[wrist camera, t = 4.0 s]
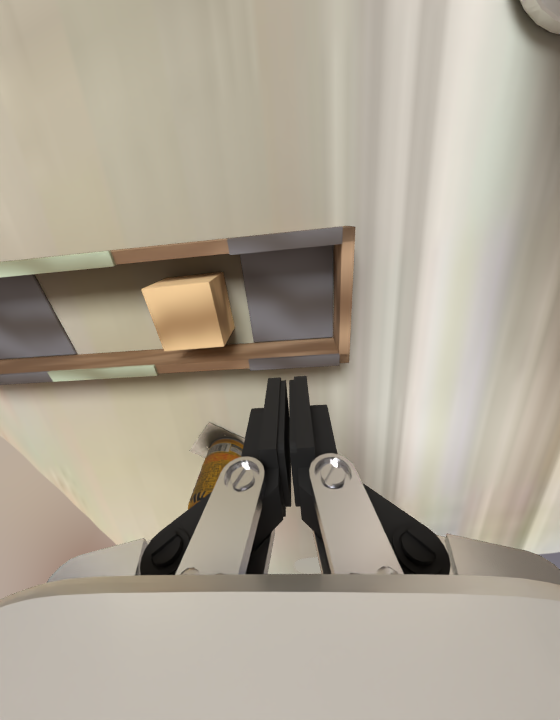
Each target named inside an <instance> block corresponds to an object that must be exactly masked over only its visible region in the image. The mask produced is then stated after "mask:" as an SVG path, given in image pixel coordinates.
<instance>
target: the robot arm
mask: <svg viewBox="0 0 560 720" xmlns="http://www.w3.org/2000/svg"><path fill="white" fill-rule="evenodd" d="M520 2H521V4H522V6H523V8H524V10H525V11H526V13H527V14H528V15H529V16H530V17H531V18H532V19H533V21H534V22H535V23H536V24H537V25H539V26H541V27H543V28H544V29H546V30H548V31H549V32H551V33H556V34H560V0H520ZM291 467H292V477H293V486H294V496H295V505H296V506H301V516H302V520H303V521H304V522H305V523H306V524H307V525H308V526H309V527H310V528H311V529H312V530H313V537H314V541H315V546H316V551H317V555H318V560H319V564H320V569H321V574H268V569H269V563H270V558H271V552H272V547H273V541H274V536H275V528H276V527H277V526H278V525H279V523H280V522H281V521H282V520H283V517H286V507H291ZM0 720H560V569H559V568H557V567H556V566H555V565H554V564H553V563H551V562H550V561H548V560H546V559H545V558H543V557H542V556H540V555H537V554H534V553H531V552H529V551H525V550H520V549H515V548H511V547H506V546H501V545H497V544H492V543H488V542H483V541H478V540H474V539H469V538H464V537H460V536H455V535H451V534H447V535H446V537H443V536H438V535H436V534H434V533H433V532H432V531H431V530H430V529H428V528H427V527H426V526H424V525H423V524H421V523H420V522H418V521H417V520H416V519H414V518H413V517H411V516H410V515H408V514H407V513H405V512H404V511H402V510H401V509H400V508H398V507H397V506H395V505H394V504H392V503H391V502H389V501H388V500H386V499H385V498H384V497H382V496H381V495H379V494H378V493H376V492H375V491H373V490H372V489H370V488H369V487H367V486H366V485H365V484H363V483H362V481H361V479H360V477H359V475H358V473H357V470H356V468H355V467H354V465H353V464H352V462H351V461H349V460H348V459H347V458H346V457H343V456H341V455H339V454H337V450H336V445H335V441H334V436H333V431H332V426H331V422H330V417H329V412H328V408H327V405H312V406H310V402H309V394H308V385H307V377H306V376H297V377H294V380H290V381H289V408H288V398H287V387H286V380H285V381H281V378H268V384H267V391H266V398H265V405H264V408H254V409H251V413H250V417H249V422H248V427H247V432H246V436H245V441H244V446H243V451H242V455H241V457H240V458H236V459H234V460H232V461H231V462H229V463H228V464H227V465H226V466H225V467H224V468H223V470H222V471H221V473H220V475H219V478H218V480H217V482H216V484H215V487H214V489H213V491H212V492H211V493H209V494H208V495H207V496H205V497H204V498H203V499H202V500H200V501H199V502H198V503H196V504H195V505H194V506H193V507H191V508H190V509H189V510H187V511H186V512H185V513H183V514H182V515H181V516H180V517H178V518H177V519H176V520H174V521H173V522H172V523H171V524H169V525H168V526H167V527H165V528H164V529H163V530H161V531H160V532H159V533H158V534H157V535H156V536H155V537H154V538H153V539H152V540H149V541H146V540H145V539H144V538H143V539H139V540H135V541H131V542H128V543H124V544H120V545H116V546H113V547H109V548H105V549H101V550H98V551H94V552H90V553H87V554H82V555H79V556H77V557H75V558H72V559H70V560H69V561H67V562H66V563H65V564H63V565H62V566H60V567H59V568H58V569H57V570H56V571H55V572H54V573H53V574H52V576H51V577H50V578H49V579H48V581H47V583H44V584H41V585H38V586H34V587H31V588H28V589H25V590H22V591H19V592H17V593H14V594H12V595H9V596H7V597H5V598H3V599H0Z"/></svg>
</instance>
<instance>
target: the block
mask: <svg viewBox="0 0 560 720" xmlns="http://www.w3.org/2000/svg"><path fill="white" fill-rule="evenodd" d="M141 290H142V293H143V295H144V298H145V301H146V303H147V306H148V309H149V311H150V314H151V317H152V319H153V322H154V325H155V327H156V330H157V333H158V336H159V338H160V341H161V344H162V346H163V349H164V351H174V350H186V349H199V348H211V347H224V346H225V344H226V342H227V341H228V339H229V337H230V335H231V333H232V331H233V330H234V328H235V326H234V322H233V317H232V312H231V307H230V302H229V298H228V293H227V288H226V283H225V278H224V274H223V272H217V273H208V274H198V275H189V276H180V277H171V278H165V279H163V280H161V281H158V282H156V283H154V284H152V285H149V286H147V287H145V288H143V289H141Z"/></svg>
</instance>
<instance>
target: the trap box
mask: <svg viewBox="0 0 560 720" xmlns="http://www.w3.org/2000/svg"><path fill="white" fill-rule="evenodd" d="M354 244H355V227H353V226H341V227H332V228H322V229H312V230H303V231H293V232H284V233H274V234H264V235H255V236H245V237H235V238H226V239H216V240H207V241H197V242H187V243H178V244H168V245H158V246H149V247H139V248H130V249H120V250H110V251H101V252H91V253H81V254H72V255H62V256H52V257H43V258H33V259H24V260H14V261H4V262H0V359H6V360H0V385H4V384H22V383H40V382H57V381H75V380H92V379H110V378H128V377H145V376H157V375H158V373H176V372H193V371H210V370H228V369H245V368H250V371H251V370H268V369H286V368H304V367H321V366H339V363H349V352H350V330H351V309H352V287H353V266H354ZM333 245H334V316H333ZM228 253H229V254H230V255H235V254H240V258H241V264H242V270H243V277H244V283H245V289H246V296H247V302H248V308H249V315H250V321H251V327H252V334H253V340H254V342H262V343H247V344H232V345H225V346H224V347H211V348H199V349H186V350H174V351H164V349H157V350H141V351H126V352H111V353H96V354H81V355H69V354H77V352H76V351H75V349H74V347H73V345H72V343H71V341H70V340H69V338H68V336H67V334H66V332H65V331H64V329H63V327H62V325H61V323H60V321H59V320H58V318H57V316H56V314H55V312H54V311H53V309H52V307H51V305H50V303H49V301H48V300H47V298H46V296H45V294H44V292H43V290H42V289H41V287H40V285H39V283H38V281H37V280H36V278H35V276H34V274H41V273H51V272H61V271H71V270H82V269H92V268H102V267H112V266H116V264H127V263H137V262H147V261H157V260H167V259H177V258H187V257H198V256H208V255H218V254H228ZM324 337H333V338H324ZM309 338H322V339H309ZM294 339H307V340H294ZM279 340H292V341H279ZM264 341H277V342H264ZM54 355H66V356H54ZM39 356H51V357H39ZM24 357H36V358H24ZM9 358H21V359H9Z"/></svg>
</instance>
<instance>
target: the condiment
mask: <svg viewBox="0 0 560 720" xmlns="http://www.w3.org/2000/svg"><path fill="white" fill-rule="evenodd" d="M244 441H245V438H243V437H240V436H238V435H235V434H233V433H230V432H229V431H227V430H225V429H223V428H221V427H218V426H215V425H213V424H211V423H208V424H207V426H206V427H205V429H204V430H203V431H202V433H201V434H200V436H199V437H198V439H197V440H196V442H195V443H194V444H193V446H192V447H191V449H190V450H189V451H191V452H193V453H195V454H198V455H200V456H201V457H204V458H205V461H204V464H203V466H202V469H201V472H200V474H199V477H198V480H197V483H196V485H195V488H194V490H193V493H192V496H191V499H190V501H189V505H188V510H189V509H190V508H191V507H193V506H194V505H195V504H196V503H198V502H199V501H200V500H202V499H203V498H204V497H205V496H207V495H208V494H209V493H211V492H212V491H213V489H214V487H215V484H216V482H217V480H218V478H219V475H220V473H221V471H222V470H223V468H224V467H225V466H226V465H227V464H228V463H229V462H231V461H232V460H234V459H236V458H240V457H241V455H242V451H243V446H244ZM207 447H208V448H207ZM208 449H209V450H208Z"/></svg>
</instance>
